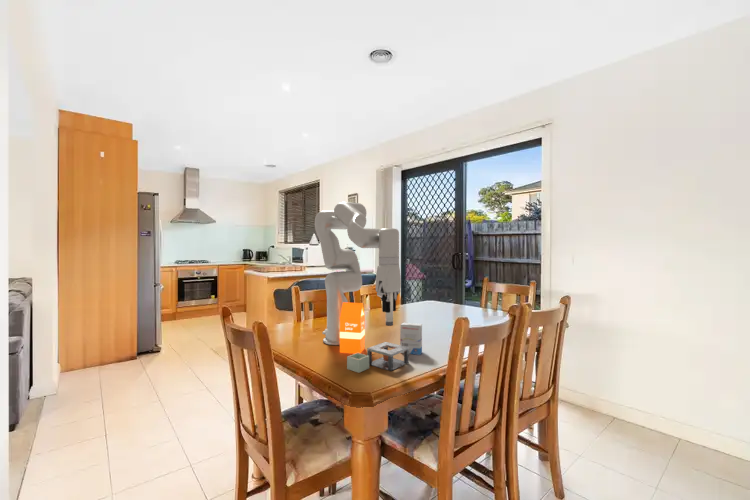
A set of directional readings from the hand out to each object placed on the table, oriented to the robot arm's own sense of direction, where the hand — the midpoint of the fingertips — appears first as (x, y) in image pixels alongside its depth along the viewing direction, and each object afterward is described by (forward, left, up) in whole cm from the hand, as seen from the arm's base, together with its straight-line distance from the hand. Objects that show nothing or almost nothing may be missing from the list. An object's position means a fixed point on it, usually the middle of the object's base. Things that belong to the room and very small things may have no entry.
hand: (389, 311), depth 131 cm
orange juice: (-21, +3, -20) cm, 30 cm away
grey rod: (0, 0, -5) cm, 5 cm away
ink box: (-1, +17, -20) cm, 26 cm away
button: (0, 0, -18) cm, 18 cm away
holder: (-5, -11, -20) cm, 23 cm away
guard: (0, 0, -20) cm, 20 cm away
